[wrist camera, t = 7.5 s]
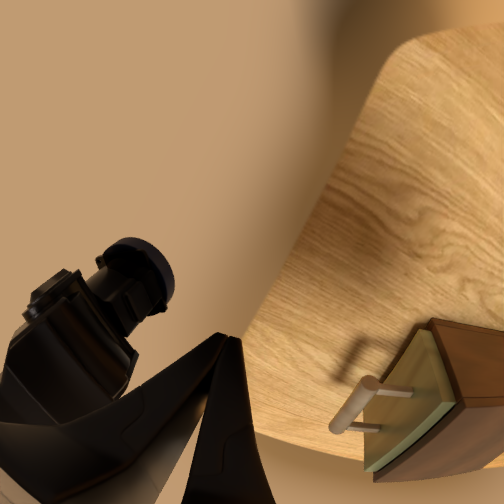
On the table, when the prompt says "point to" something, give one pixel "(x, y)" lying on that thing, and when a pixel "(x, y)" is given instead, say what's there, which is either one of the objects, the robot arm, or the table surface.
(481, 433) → the cabinet
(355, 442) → the table surface
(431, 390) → the drawer
